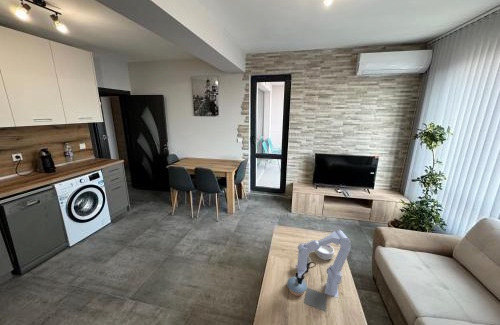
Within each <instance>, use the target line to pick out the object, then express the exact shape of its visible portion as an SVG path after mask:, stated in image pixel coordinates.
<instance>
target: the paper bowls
mask: <svg viewBox="0 0 500 325" xmlns="http://www.w3.org/2000/svg"><path fill="white" fill-rule="evenodd" d="M314 253H315V255H316V256H318V258H319V259H321V260H324V261H328V260H330V259H331V260H332V259H333V258H334V257H335V256H334V255H335V248H334V247H333V246H331V245H330V244H326V245H323V246H320V248H319V249H318V250H315V251H314Z"/></svg>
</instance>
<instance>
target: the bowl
mask: <svg viewBox="0 0 500 325" xmlns="http://www.w3.org/2000/svg"><path fill="white" fill-rule="evenodd" d="M288 290H289V292H290V293H291V294H292V295H293V296H297V297H299V296H303V294H304V293H305V292H303V293H295V292H293V291H291V290H290V289H289V288H288Z"/></svg>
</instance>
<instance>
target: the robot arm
mask: <svg viewBox="0 0 500 325" xmlns="http://www.w3.org/2000/svg"><path fill="white" fill-rule="evenodd" d="M332 243H333V244H335V245H337V246H339V245H340V247H339V250H338V252H337V254H336V257H335V259H334V261H333V264H330V265H329V267H328V268H327V269H326V274H327V279H326V283H325V290H324V294H327V296H328V295H329V296H331V297H334V298H337V299H338V298H339V285H340V284H341V283H342V277H343V276H342V269H343V267H344V265H345V262H346V260H347V258H348V255H349V253H350V251H351V250H352V246H351V244H352V241H350V239H349V238H348V237H347V236H346V234H345V233H344V231H342V230H341V229H336V230H334V231H332V233H331V234H329V235H327V236H325V237H322V238H321V239H319V240H315V239H312V240H311V241H309V242H306V243H302V242H301V243H299V244H298V246H297V250H298V252H297V253H298V254H297V264H295V266H294V267H295V269H296V271H297V272H296V273H295V277H296V278H297V281H298V284H302V281H303V280H304V279H305V273H304V272H305V271H306V269H307V256H308V257H309V255H310V254H311V253H312V252H315V250H318V249H319V248H320V246H323V245H326V244H328V245H330V244H332Z"/></svg>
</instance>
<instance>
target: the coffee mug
mask: <svg viewBox="0 0 500 325" xmlns="http://www.w3.org/2000/svg"><path fill="white" fill-rule="evenodd" d="M312 264H314V265H313V266H310V265H312ZM316 265H317V264H316V262H314V261H312V260H311V257H310V256H309V255H308V256H307V269H306V271H305V272H304V274H307V273H308V272H309V271H310V269H312V268H315V267H316Z"/></svg>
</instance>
